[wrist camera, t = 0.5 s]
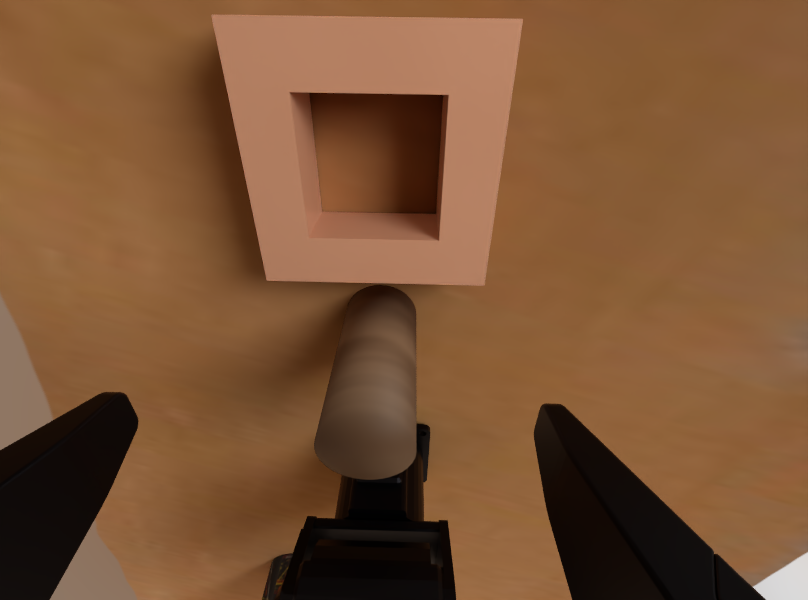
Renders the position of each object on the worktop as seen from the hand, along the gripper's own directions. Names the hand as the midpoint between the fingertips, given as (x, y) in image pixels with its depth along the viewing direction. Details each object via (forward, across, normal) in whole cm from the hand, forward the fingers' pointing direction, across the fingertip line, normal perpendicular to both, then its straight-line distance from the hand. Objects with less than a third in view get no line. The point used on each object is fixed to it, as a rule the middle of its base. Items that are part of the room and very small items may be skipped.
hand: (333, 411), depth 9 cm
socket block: (+13, 0, -3) cm, 13 cm away
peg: (+13, 0, +6) cm, 15 cm away
